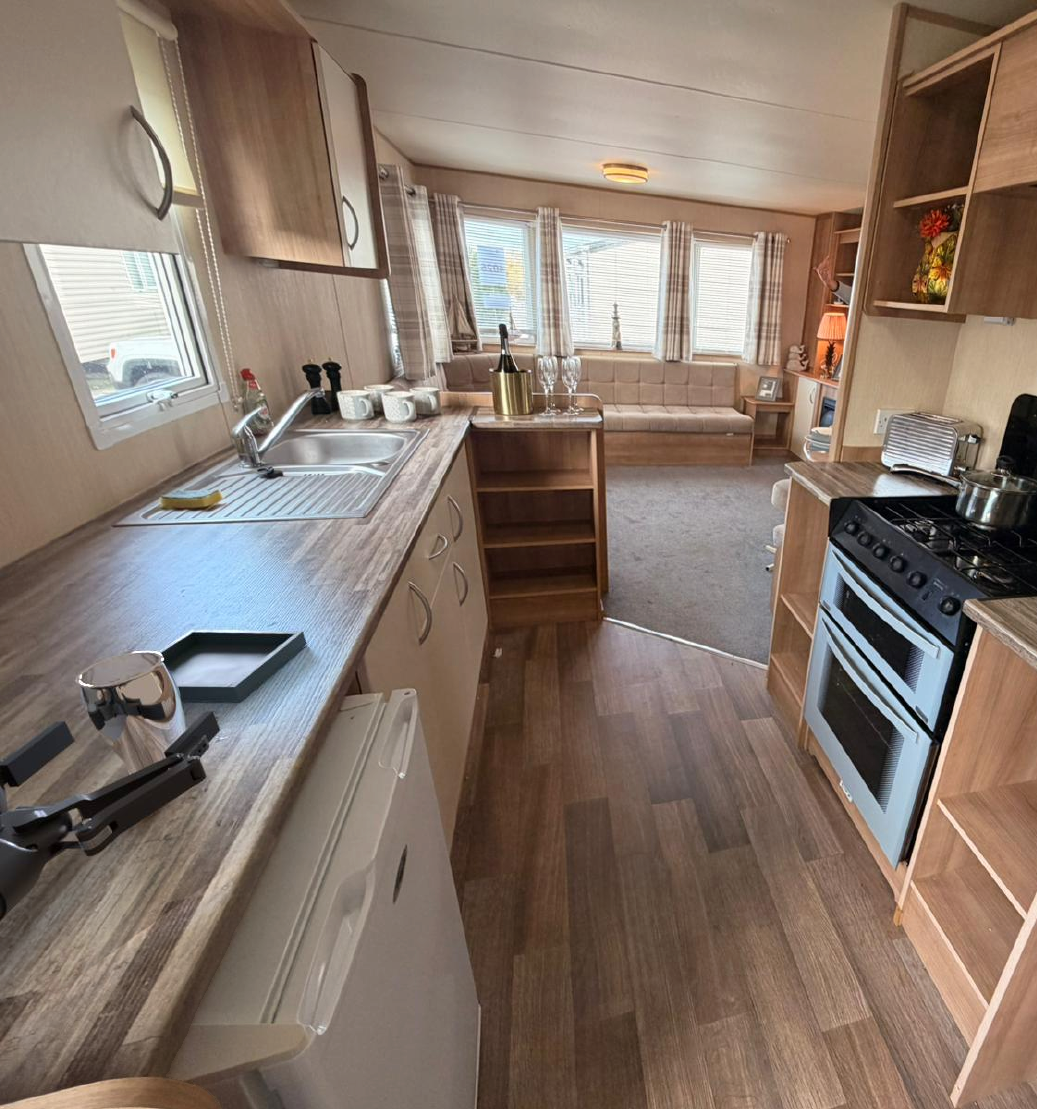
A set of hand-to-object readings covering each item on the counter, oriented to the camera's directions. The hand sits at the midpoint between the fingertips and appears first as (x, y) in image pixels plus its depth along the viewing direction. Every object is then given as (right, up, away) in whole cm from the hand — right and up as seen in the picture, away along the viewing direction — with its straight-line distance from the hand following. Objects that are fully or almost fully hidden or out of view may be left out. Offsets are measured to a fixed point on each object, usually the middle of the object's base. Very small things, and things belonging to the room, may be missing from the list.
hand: (141, 725), depth 64 cm
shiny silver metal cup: (-1, -7, +4) cm, 8 cm away
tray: (-12, +1, +22) cm, 25 cm away
